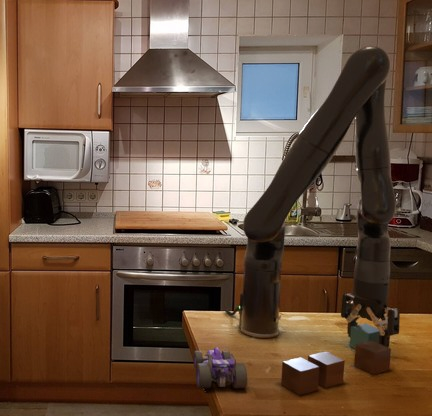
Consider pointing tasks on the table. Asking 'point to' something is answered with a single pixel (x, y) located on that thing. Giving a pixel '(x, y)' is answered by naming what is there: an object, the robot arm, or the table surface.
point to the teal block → (363, 334)
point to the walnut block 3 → (372, 357)
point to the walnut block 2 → (328, 368)
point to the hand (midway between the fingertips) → (367, 343)
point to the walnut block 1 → (300, 376)
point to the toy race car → (219, 369)
